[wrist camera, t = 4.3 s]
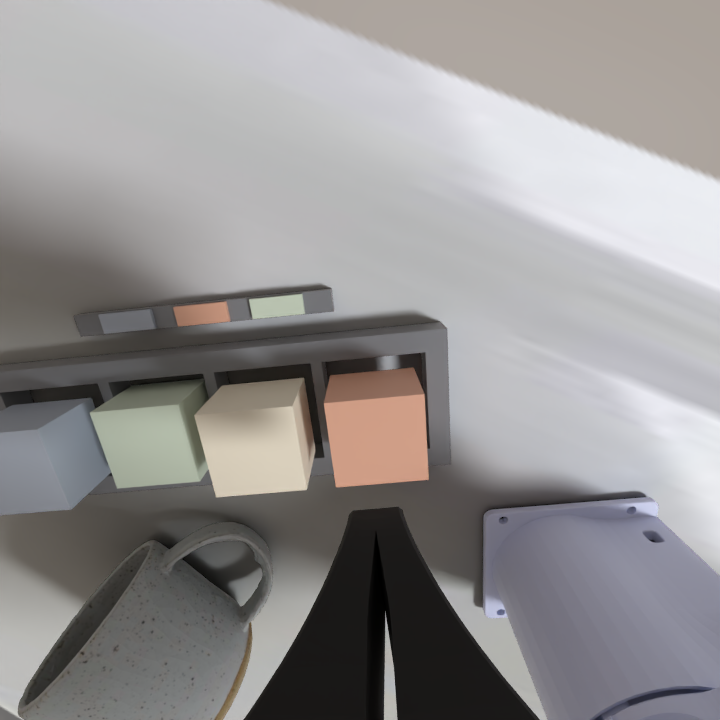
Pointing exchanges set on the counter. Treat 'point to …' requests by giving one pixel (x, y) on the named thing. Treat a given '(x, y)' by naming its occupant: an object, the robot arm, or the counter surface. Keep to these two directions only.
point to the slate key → (48, 456)
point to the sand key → (258, 437)
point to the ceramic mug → (153, 640)
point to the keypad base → (213, 360)
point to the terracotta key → (377, 427)
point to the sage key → (153, 433)
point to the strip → (205, 312)
